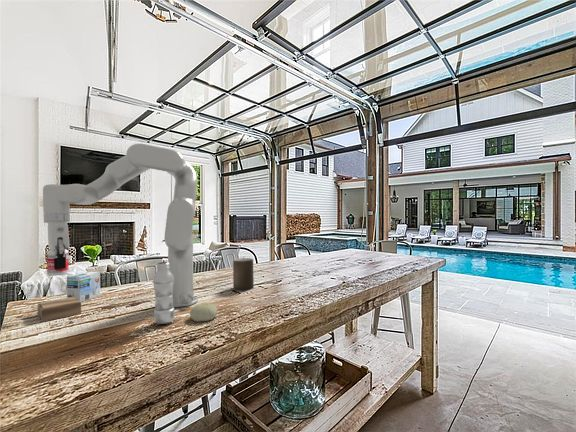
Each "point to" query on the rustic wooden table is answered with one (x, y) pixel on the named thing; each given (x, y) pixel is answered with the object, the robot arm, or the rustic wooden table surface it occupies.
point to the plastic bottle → (163, 294)
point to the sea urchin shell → (203, 312)
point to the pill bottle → (50, 263)
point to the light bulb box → (83, 285)
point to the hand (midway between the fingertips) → (58, 267)
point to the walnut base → (58, 308)
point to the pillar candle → (243, 274)
